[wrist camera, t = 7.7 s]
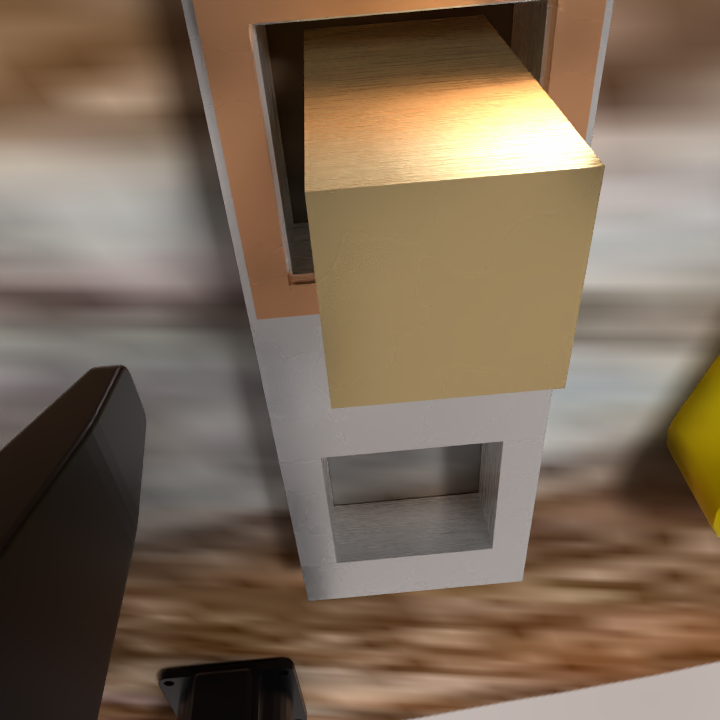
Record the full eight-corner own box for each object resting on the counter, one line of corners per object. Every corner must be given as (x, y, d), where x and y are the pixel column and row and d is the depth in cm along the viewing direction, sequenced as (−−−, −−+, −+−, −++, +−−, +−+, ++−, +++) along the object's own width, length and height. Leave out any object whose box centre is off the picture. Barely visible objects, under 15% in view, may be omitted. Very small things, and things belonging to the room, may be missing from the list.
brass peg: (474, 181, 18) (564, 388, 12) (321, 194, 18) (331, 408, 12) (483, 14, 15) (604, 166, 9) (304, 29, 15) (304, 191, 9)
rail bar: (506, 525, 27) (523, 588, 25) (308, 544, 27) (308, 608, 25) (589, -165, 13) (645, -156, 11) (178, -129, 13) (153, -113, 11)
